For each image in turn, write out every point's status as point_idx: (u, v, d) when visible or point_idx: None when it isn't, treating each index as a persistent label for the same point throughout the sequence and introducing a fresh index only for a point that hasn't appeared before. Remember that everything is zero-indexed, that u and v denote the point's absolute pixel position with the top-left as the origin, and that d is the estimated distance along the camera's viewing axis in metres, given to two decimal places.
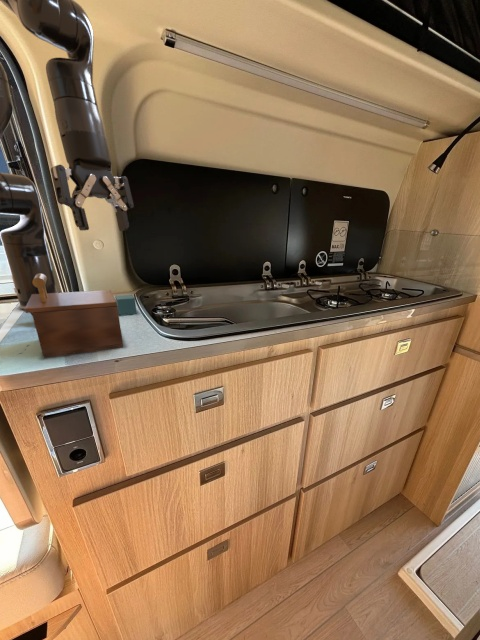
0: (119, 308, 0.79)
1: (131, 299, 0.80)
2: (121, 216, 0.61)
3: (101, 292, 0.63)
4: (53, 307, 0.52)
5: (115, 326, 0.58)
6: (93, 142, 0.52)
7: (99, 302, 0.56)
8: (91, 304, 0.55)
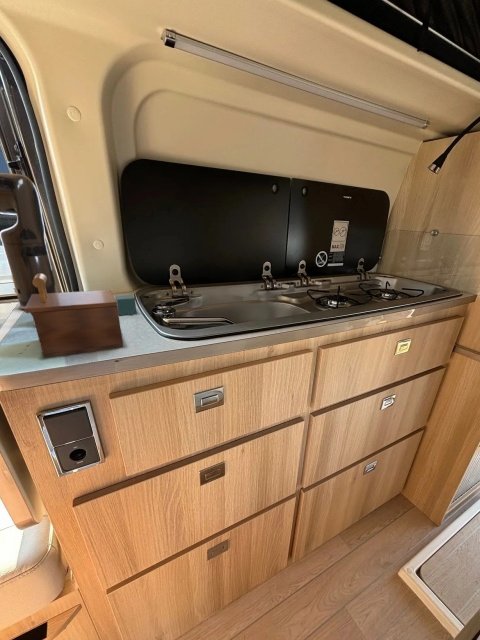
0: (119, 308, 0.79)
1: (131, 299, 0.80)
2: None
3: (101, 292, 0.63)
4: (53, 307, 0.52)
5: (115, 326, 0.58)
6: None
7: (99, 302, 0.56)
8: (91, 304, 0.55)
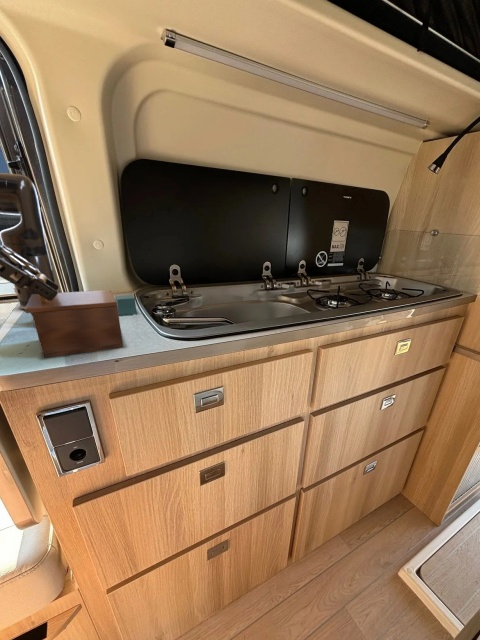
0: (119, 308, 0.79)
1: (131, 299, 0.80)
2: None
3: (101, 292, 0.63)
4: (53, 307, 0.52)
5: (115, 326, 0.58)
6: None
7: (99, 302, 0.56)
8: (91, 304, 0.55)
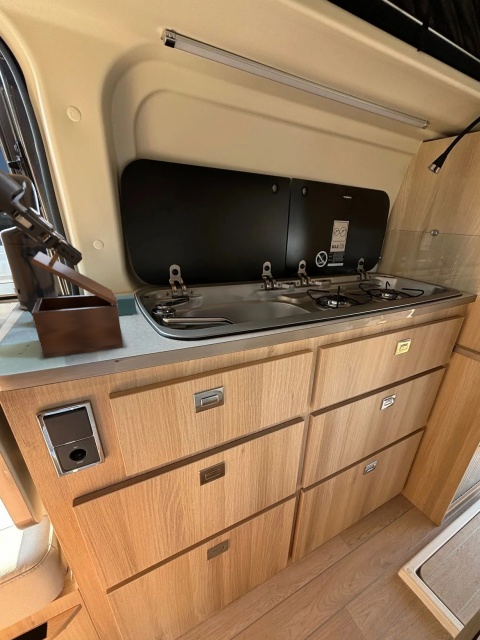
0: (119, 308, 0.79)
1: (131, 299, 0.80)
2: None
3: (103, 287, 0.63)
4: (59, 273, 0.51)
5: (115, 326, 0.58)
6: None
7: (102, 293, 0.56)
8: (94, 291, 0.54)
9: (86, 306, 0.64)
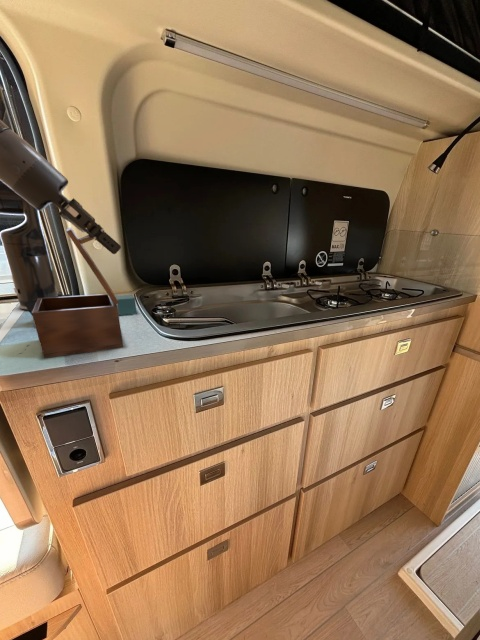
0: (119, 308, 0.79)
1: (131, 299, 0.80)
2: None
3: None
4: (85, 253, 0.51)
5: (115, 326, 0.58)
6: None
7: (109, 289, 0.56)
8: (105, 283, 0.55)
9: (86, 306, 0.64)
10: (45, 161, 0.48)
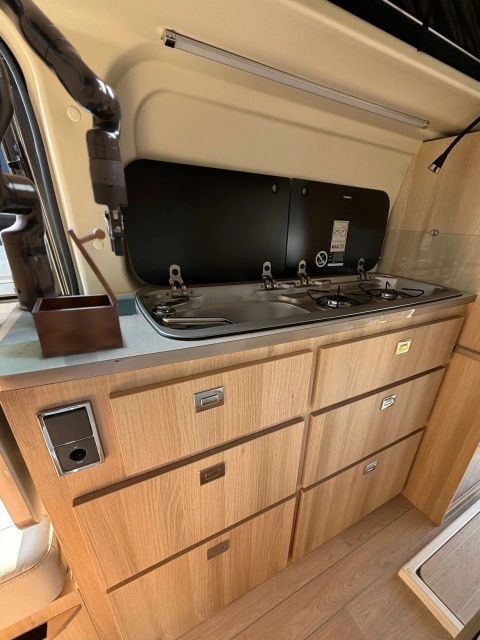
0: (119, 308, 0.79)
1: (131, 299, 0.80)
2: None
3: None
4: (85, 252, 0.51)
5: (115, 326, 0.58)
6: (126, 193, 0.72)
7: (109, 289, 0.56)
8: (105, 283, 0.55)
9: (86, 306, 0.64)
10: None
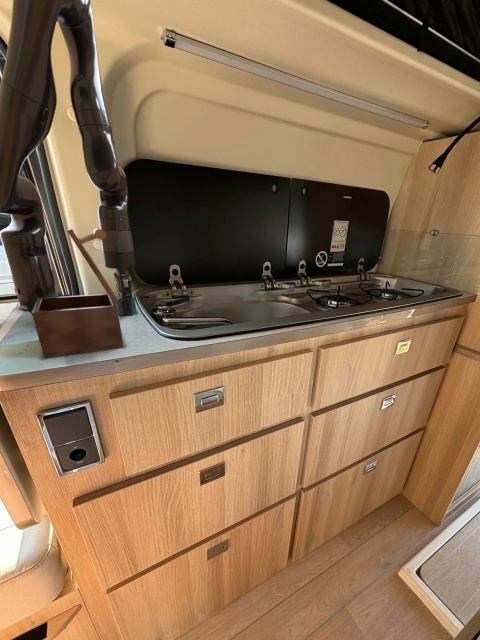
0: (119, 308, 0.79)
1: None
2: None
3: None
4: (85, 252, 0.51)
5: (115, 326, 0.58)
6: (134, 256, 0.78)
7: (109, 289, 0.56)
8: (105, 283, 0.55)
9: (86, 306, 0.64)
10: None
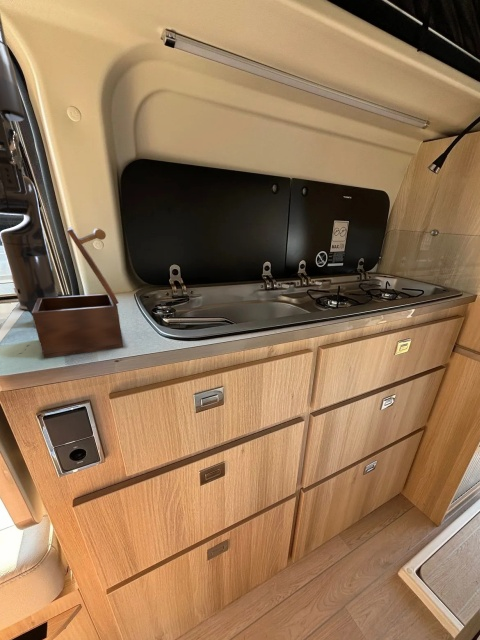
0: None
1: None
2: (19, 178, 0.55)
3: None
4: (85, 252, 0.51)
5: (115, 326, 0.58)
6: (19, 98, 0.48)
7: (109, 289, 0.56)
8: (105, 283, 0.55)
9: (86, 306, 0.64)
10: None
